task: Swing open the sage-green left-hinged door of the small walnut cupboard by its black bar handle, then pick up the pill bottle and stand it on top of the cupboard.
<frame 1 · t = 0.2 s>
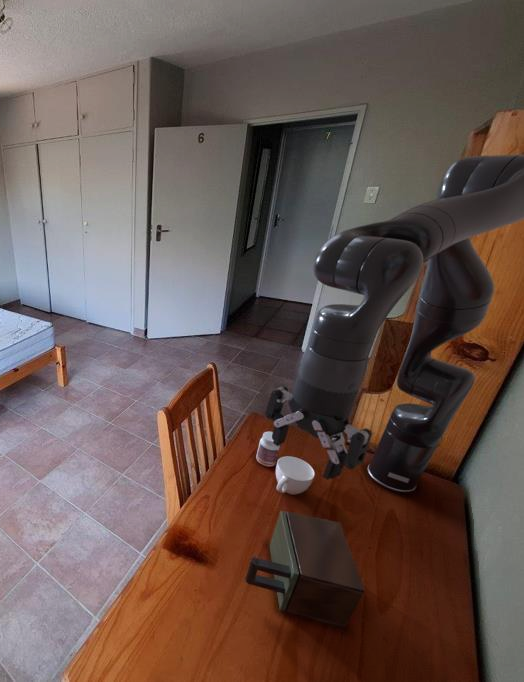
hand: (302, 458, 60), 29 cm above the table, tool pointing down, fingers open, 8 cm apart
cupboard door: (264, 554, 69), point 6 cm above the table, hinge at 0.0°
pill bottle: (265, 460, 98), on the table
cup: (286, 490, 89), on the table
cupboard: (306, 584, 69), on the table
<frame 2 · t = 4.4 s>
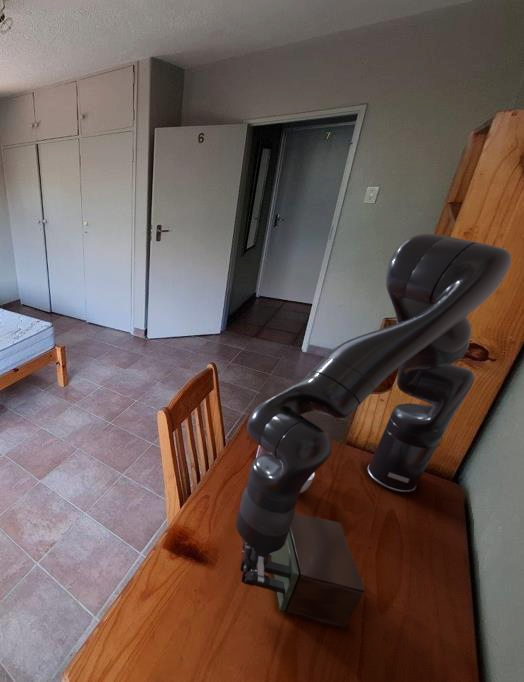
hand: (247, 576, 66), 5 cm above the table, tool pointing down, fingers closed
cupboard door: (264, 554, 69), point 6 cm above the table, hinge at 0.0°, touching gripper
everything else where it was.
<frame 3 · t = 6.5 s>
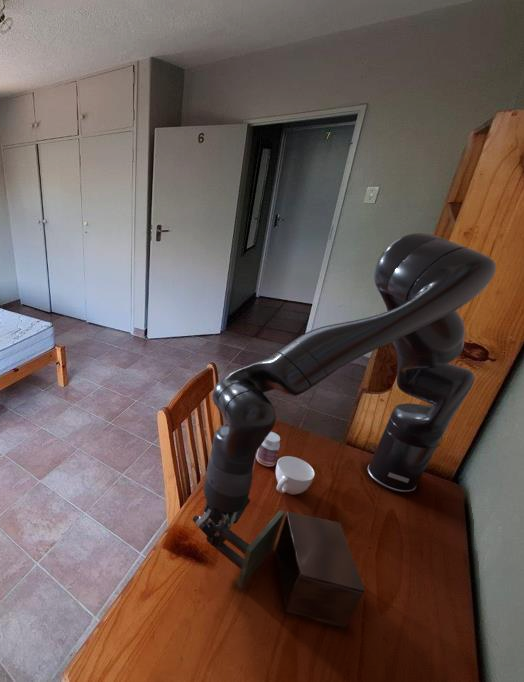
hand: (216, 540, 73), 5 cm above the table, tool pointing down, fingers closed
cupboard door: (245, 536, 72), point 6 cm above the table, hinge at 34.3°, touching gripper
everything else where it was.
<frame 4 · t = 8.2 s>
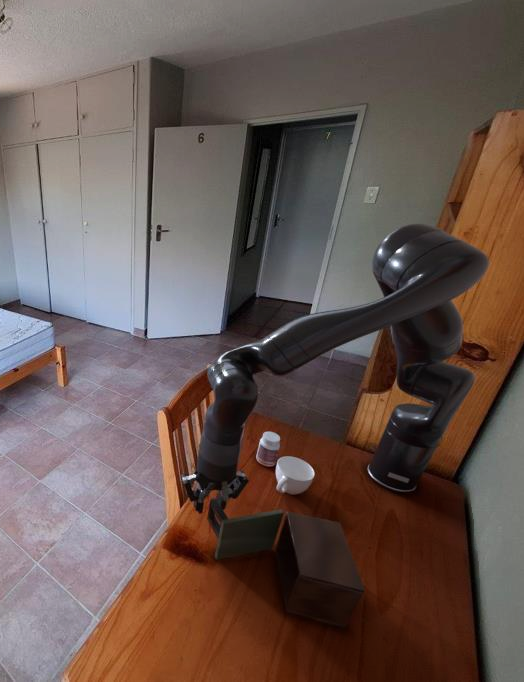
hand: (208, 509, 79), 5 cm above the table, tool pointing down, fingers open, 4 cm apart
cupboard door: (239, 521, 76), point 6 cm above the table, hinge at 62.9°
everything else where it was.
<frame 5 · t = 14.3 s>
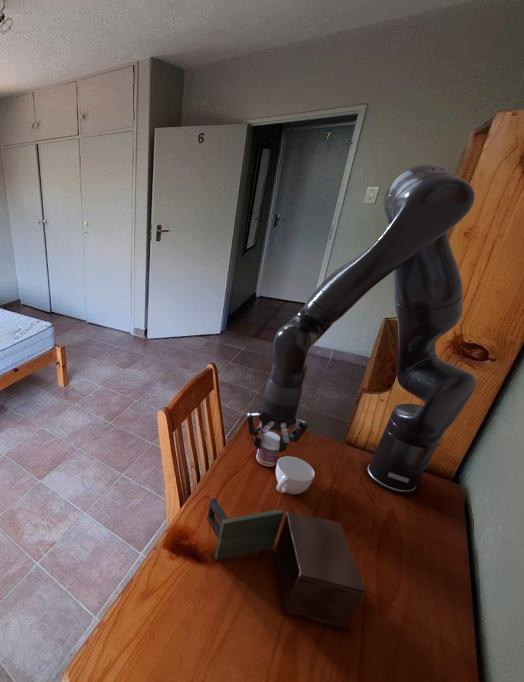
hand: (268, 448, 95), 4 cm above the table, tool pointing down, fingers closed on pill bottle, 4 cm apart
pill bottle: (265, 460, 98), on the table, touching gripper
everything else where it was.
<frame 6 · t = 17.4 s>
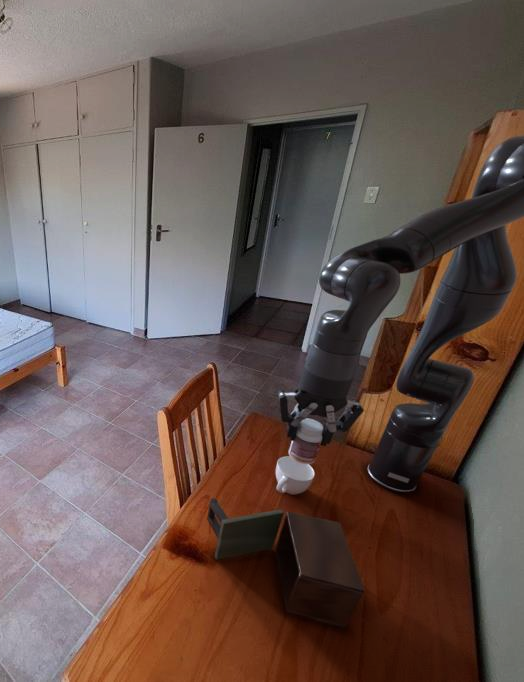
hand: (306, 440, 72), 23 cm above the table, tool pointing down, fingers closed on pill bottle, 4 cm apart
pill bottle: (301, 457, 74), point 18 cm above the table, touching gripper
everything else where it was.
when the fingers open (16 cm above the table, at t = 20.5 s): pill bottle stays where it is, resting on cupboard.
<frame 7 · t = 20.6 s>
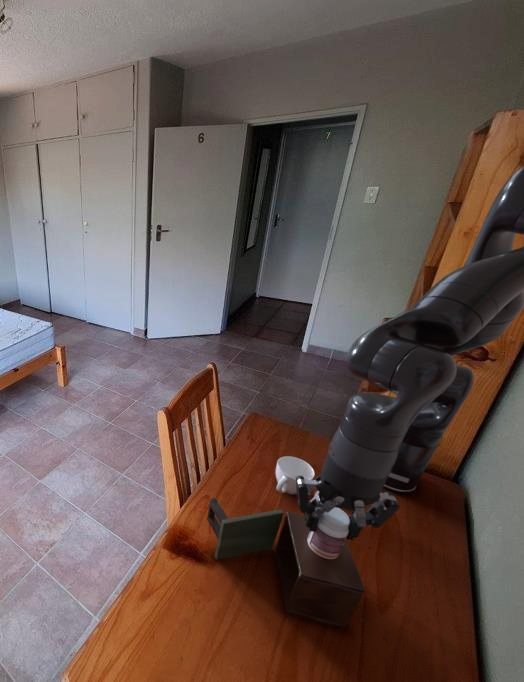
hand: (329, 530, 62), 16 cm above the table, tool pointing down, fingers open, 5 cm apart
pill bottle: (322, 547, 64), point 11 cm above the table, touching cupboard
everything else where it was.
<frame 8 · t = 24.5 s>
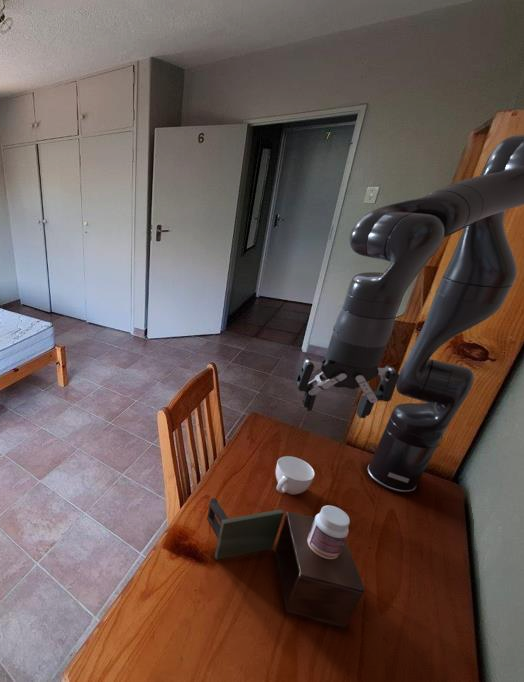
hand: (333, 411, 68), 30 cm above the table, tool pointing down, fingers open, 8 cm apart
nothing on the table moved.
at the end: cupboard door at +63° (first picture: +0°); pill bottle inside the target area on the cupboard (0.1 cm from its centre), point 11.4 cm above the cupboard's base; pill bottle tilted 0° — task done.
